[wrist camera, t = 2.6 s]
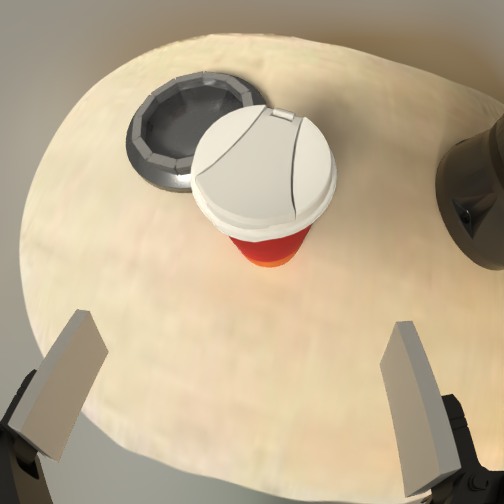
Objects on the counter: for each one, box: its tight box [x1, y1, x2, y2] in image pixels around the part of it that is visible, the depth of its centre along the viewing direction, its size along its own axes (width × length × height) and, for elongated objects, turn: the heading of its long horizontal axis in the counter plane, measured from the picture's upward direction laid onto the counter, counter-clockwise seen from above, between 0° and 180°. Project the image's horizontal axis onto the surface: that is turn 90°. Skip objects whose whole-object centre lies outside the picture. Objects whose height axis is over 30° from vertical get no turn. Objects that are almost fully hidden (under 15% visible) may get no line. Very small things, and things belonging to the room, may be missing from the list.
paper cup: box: [190, 105, 337, 267], centre depth 21 cm, size 8×8×14 cm
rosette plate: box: [126, 71, 267, 193], centre depth 30 cm, size 16×16×3 cm
